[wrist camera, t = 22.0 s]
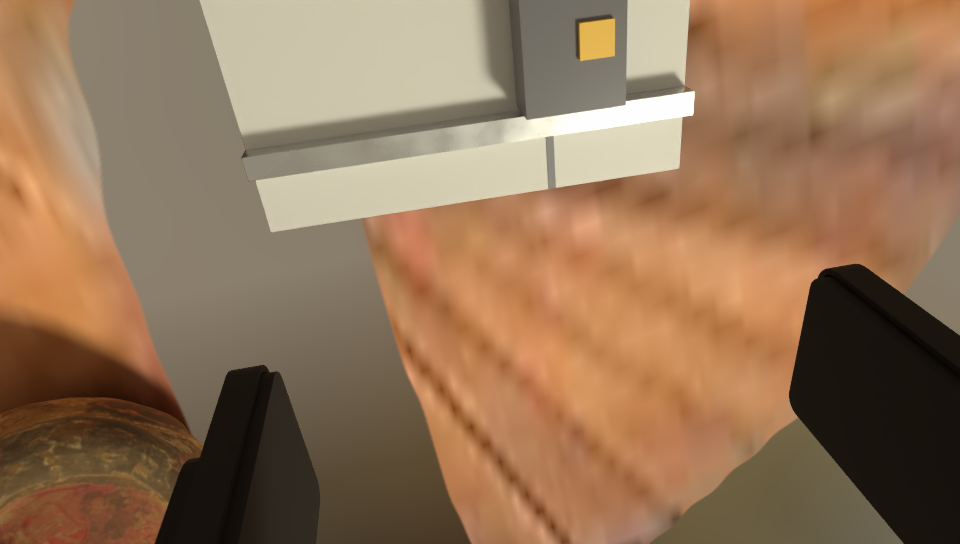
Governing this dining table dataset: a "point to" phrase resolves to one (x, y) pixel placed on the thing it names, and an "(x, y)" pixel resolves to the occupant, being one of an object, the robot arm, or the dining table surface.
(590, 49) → the block
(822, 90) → the dining table surface
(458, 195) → the wall panel
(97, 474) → the ceramic vessel
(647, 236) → the dining table surface
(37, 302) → the dining table surface
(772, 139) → the dining table surface
